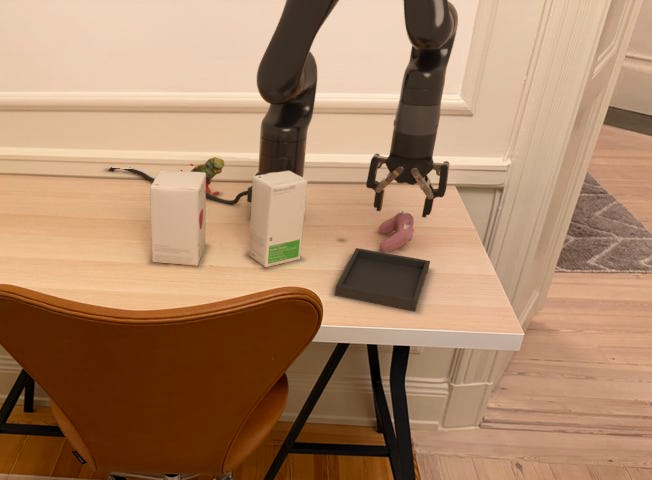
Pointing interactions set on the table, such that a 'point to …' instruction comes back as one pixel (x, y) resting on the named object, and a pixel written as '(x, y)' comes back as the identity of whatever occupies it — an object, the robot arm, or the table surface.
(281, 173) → the cosmetic box
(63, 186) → the table surface
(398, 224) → the video game controller
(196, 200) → the rectangular carton
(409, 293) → the tray
